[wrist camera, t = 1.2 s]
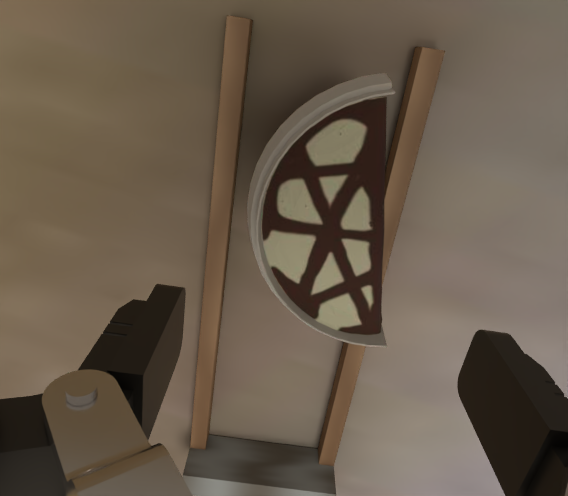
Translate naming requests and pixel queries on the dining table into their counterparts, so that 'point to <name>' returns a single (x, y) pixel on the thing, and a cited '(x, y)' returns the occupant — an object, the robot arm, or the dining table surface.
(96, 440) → the robot arm
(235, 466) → the guide channel
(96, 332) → the dining table surface
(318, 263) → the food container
